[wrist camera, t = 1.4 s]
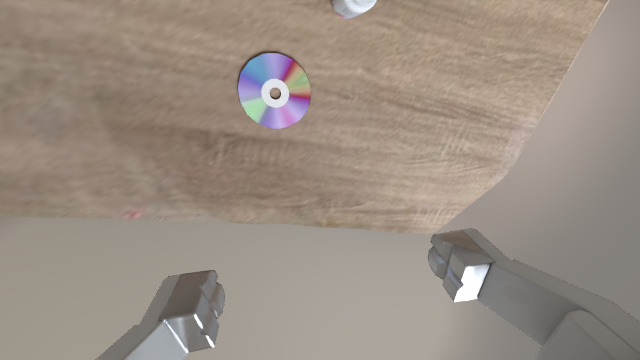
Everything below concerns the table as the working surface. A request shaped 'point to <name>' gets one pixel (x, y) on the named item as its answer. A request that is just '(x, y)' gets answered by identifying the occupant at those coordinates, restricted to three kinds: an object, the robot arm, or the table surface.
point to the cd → (274, 74)
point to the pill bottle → (351, 7)
